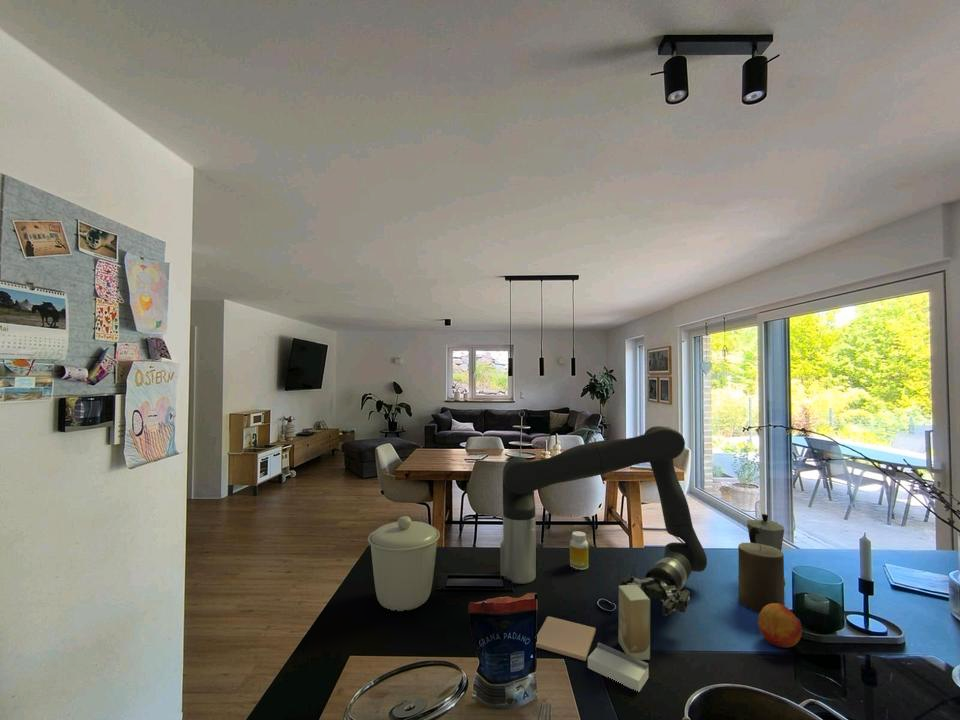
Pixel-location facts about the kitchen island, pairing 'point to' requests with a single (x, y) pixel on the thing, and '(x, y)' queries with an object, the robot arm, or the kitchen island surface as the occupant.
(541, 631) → the coaster
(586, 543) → the supplement bottle
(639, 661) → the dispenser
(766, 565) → the pillar candle
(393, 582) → the canister
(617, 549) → the kitchen island surface
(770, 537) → the coffeepot
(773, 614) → the fruit
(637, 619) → the skincare box
